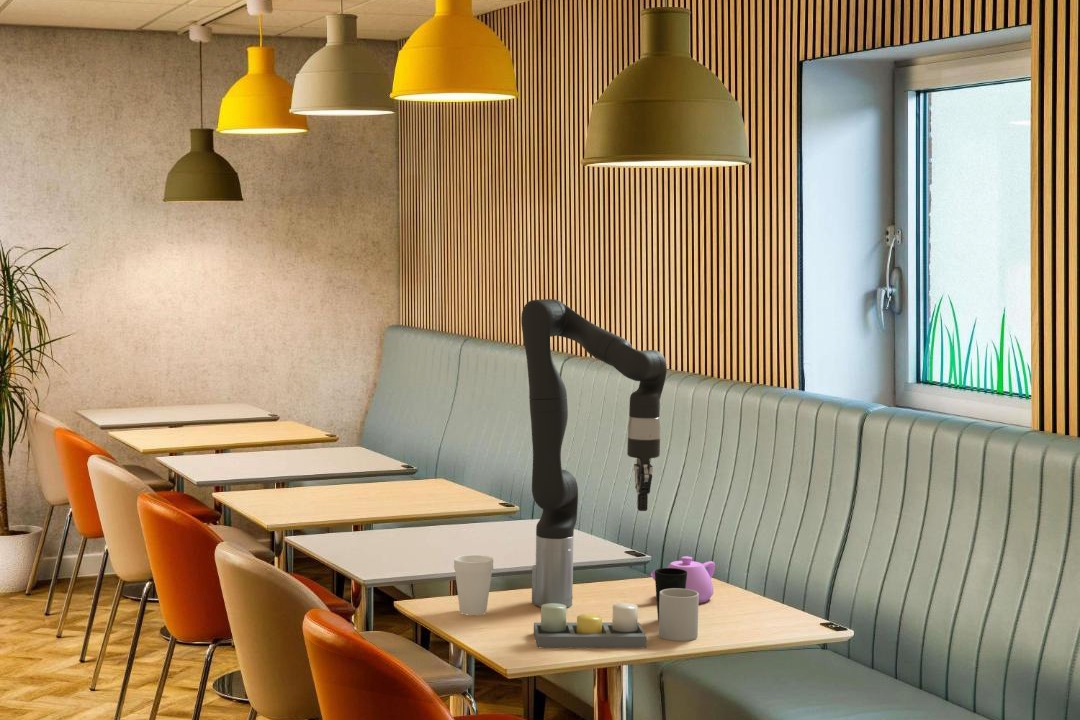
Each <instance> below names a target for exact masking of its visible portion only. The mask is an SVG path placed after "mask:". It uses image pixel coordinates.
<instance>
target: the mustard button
mask: <svg viewBox="0 0 1080 720" xmlns="http://www.w3.org/2000/svg"><path fill="white" fill-rule="evenodd" d="M602 622H603V616H601V615H599V614H594V613H593V614H591V613H585V614H583V613H582V614H579V615H577V616H576V623H577V634H602Z"/></svg>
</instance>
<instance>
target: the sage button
mask: <svg viewBox="0 0 1080 720" xmlns="http://www.w3.org/2000/svg"><path fill="white" fill-rule="evenodd" d="M540 609H541V610H540V613H541V615H540V623H541V629H542V630H544V631H549V632H560V631H564V630H566V623H567V607H566V605H563V604H557V603H549V604H543V605H542V606H541V607H540Z"/></svg>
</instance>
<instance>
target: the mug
mask: <svg viewBox="0 0 1080 720" xmlns="http://www.w3.org/2000/svg"><path fill="white" fill-rule="evenodd" d="M699 604H700V603H699V593H698V592H696V591H694V590H689V589H681V588H671V589H664V590H661V591H660V595H659V622H658V636H659V637H660V638H661V639H663V640H667V641H673V642H689V641H693V640H697V638H698V636H699V606H700V605H699Z"/></svg>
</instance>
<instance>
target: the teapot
mask: <svg viewBox="0 0 1080 720" xmlns="http://www.w3.org/2000/svg"><path fill="white" fill-rule="evenodd" d="M680 559H681V560H675V561H672V562H670V563H669V565H668V566H667V567H666V568H677V569H682V570H685V571H687V580H686V589H689V590H694V591H696V592H698V593H699V604H703V603H707V602H708V601H709V600H710V599H711V598H712V596H713V595H714V584H713V580H712V578H713V575H714V573H715V569H716V564H715V562H714V561H711V560H710V561H709V560H708V561H706V562H704V563H701V562H699V561H694V560H693V557H692V556H687V555H686V556H681V558H680ZM650 576H651V577H652V579H653V580H654V581H655V570H653V571H652V572H651V573H650Z"/></svg>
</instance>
